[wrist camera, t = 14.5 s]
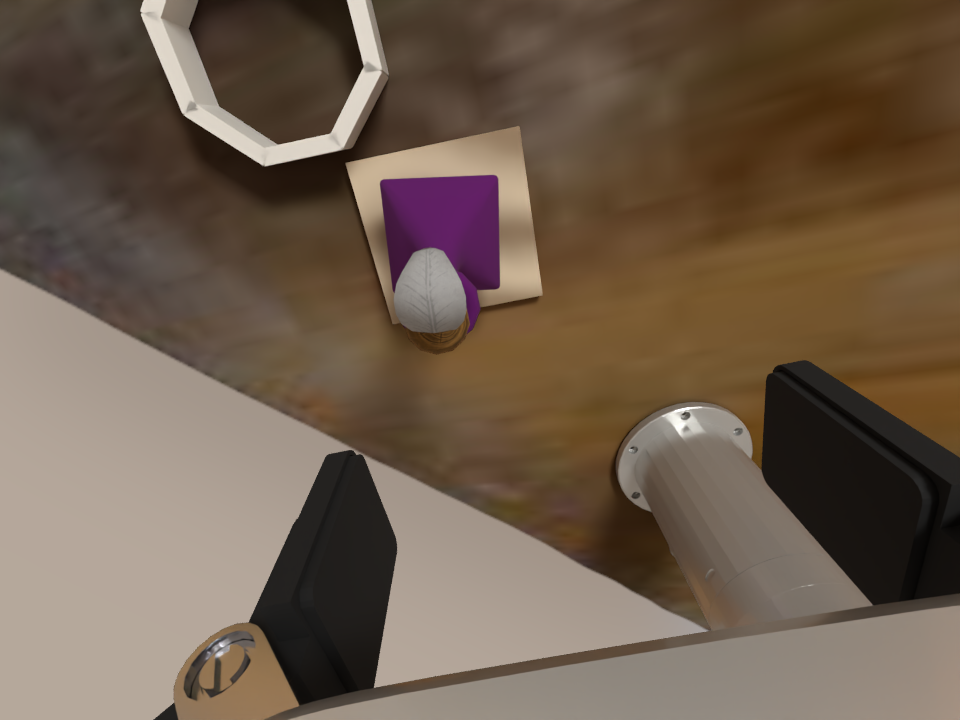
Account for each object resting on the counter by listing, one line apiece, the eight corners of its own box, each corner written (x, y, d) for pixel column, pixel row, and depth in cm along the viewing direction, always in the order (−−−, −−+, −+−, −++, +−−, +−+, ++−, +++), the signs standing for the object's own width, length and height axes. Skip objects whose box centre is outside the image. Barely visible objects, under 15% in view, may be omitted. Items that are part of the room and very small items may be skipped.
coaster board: (541, 292, 37) (542, 295, 36) (394, 320, 38) (392, 324, 37) (518, 126, 32) (519, 126, 31) (347, 162, 32) (345, 163, 32)
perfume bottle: (496, 276, 36) (528, 395, 19) (398, 280, 35) (346, 404, 19) (494, 170, 32) (530, 208, 16) (386, 175, 32) (312, 217, 16)
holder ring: (403, 137, 32) (398, 137, 29) (230, 174, 32) (209, 178, 30) (347, -101, 26) (334, -128, 24) (140, -51, 27) (104, -72, 24)
